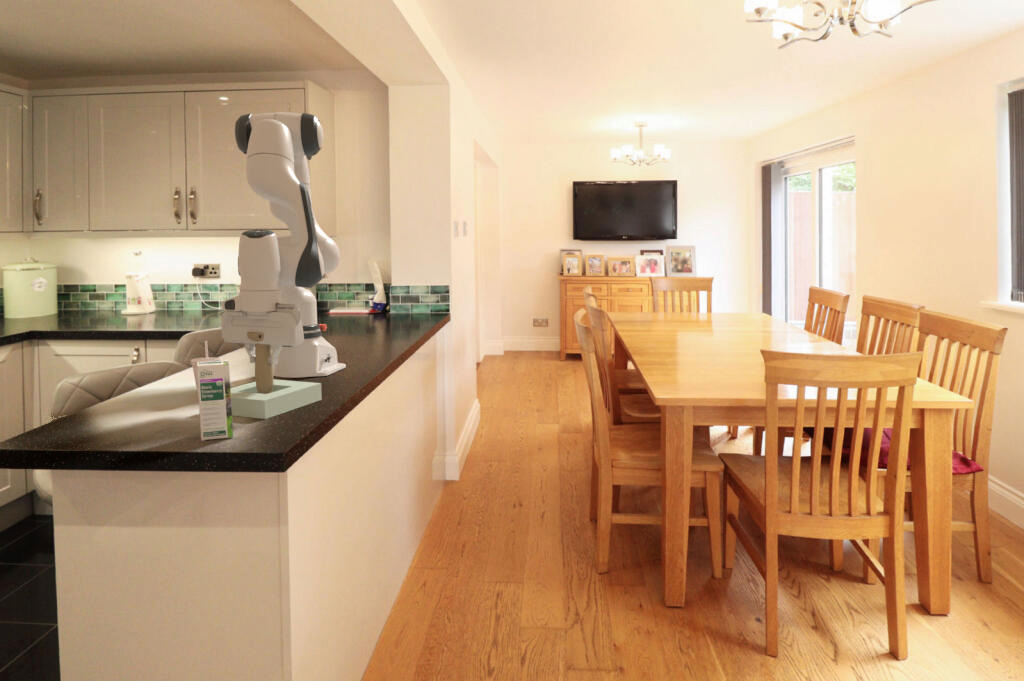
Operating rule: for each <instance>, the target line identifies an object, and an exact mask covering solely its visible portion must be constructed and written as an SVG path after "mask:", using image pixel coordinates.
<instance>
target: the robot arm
mask: <svg viewBox="0 0 1024 681" xmlns="http://www.w3.org/2000/svg"><path fill="white" fill-rule="evenodd" d="M320 121H321V120H320V119H319V118H318V117H317V115H315V114H311V113H306V112H302V113H297V112H296V113H295V112H289V111H287V112H286V111H277V112H265V113H256V114H253V113H247V114H241V115H240V116H239V117H238V118H237V120H236V121H235V124H234V132H233V133H234V134H233V135H234V139H235V143H236V145H237V148H238V149H239V150H240V151H241V152H242V153H243V154H245V155H246V162H245V170H246V172H245V173H246V180H247V183H248V185H249V187H250V189H252V191H253V192H254V193H255V194H257V196H259V197H260V198H262V199H264V200H265V201H268V202H269V210H270V212H271V214H272V216H273V217H274V218H275V219H276V220H278V221H280V222H282V223H284V224H285V225H286V226H287V228H288V231H289V233H290V235H277V234H276V232H274V231H272V230H270V229H269V230H268V229H248V230H245V231H243V232H242V233H241V234H240V236H239V241H238V256H237V269H238V270H237V272H238V273H237V274H238V276H239V277H240V285H239V295H235V296H234V297H231V298H227V299H225V300H223V301H222V302H221V310H222V311H224V312H223V313H222V315H221V320H220V321H221V324H220V325H221V327H220V328H221V337H222V339H223V340H224V342H225V343H234V344H235V343H236V344H244V349H245V351H246V353H247V354H248V356H249V363H250V364H255V344H257V343H258V344H265V345H271V356H270V357H267V359H268V364H270V365H273V373H274V374H273V375H274V377H278V378H287V379H288V378H296V379H297V378H309V377H325V376H329V375H332V374H334V373H336V372H338V371H341V370H343V369H345V368H347V365H346V364H345V363H342V362H338V351H337V349H336V347H335V346H334V345H332V344H331V343H330V342H328V341H327V340H326V339H325V338H324V337H323V336H322V335H323V333H322V331H323V332H326V331H327V329H328V326H327V323H323V324H322V323H318V309H317V308H318V307H317V299H316V296H315V295H314V293H312V291H310V290H309V289H311V288H314V287H315V286H316V285H317V284H319V283H320V282H321V281H322V280H323V278H324V275H325V274H329V273H333V272H334V271H335V270H336V268H338V265H339V263H340V259H341V253H340V252H341V251H340V248H339V247H338V245H337V243H336V241H334V239H332V238H331V237H330V236H328V234H326V232H325V231H324V230H323V229H322V228H321V226H320V225H319V223H318V222H317V219H316V216H315V213H314V208H313V200H312V189H311V177H310V169H309V165H308V161H310V160H312V158H313V157H314V156H316V155H317V154H318V153H319V152H320V151H321V150H322V146H323V143H324V138H325V136H324V135H325V134H324V129H323V126H322V124H321V122H320ZM307 288H309V289H307ZM247 332H253V333H264V339H263V340H262V341H259V342H256V341H253V340H250V339H249V338H248V336H247ZM261 338H262V336H261Z"/></svg>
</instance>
